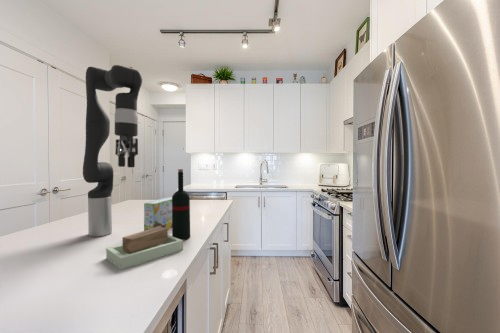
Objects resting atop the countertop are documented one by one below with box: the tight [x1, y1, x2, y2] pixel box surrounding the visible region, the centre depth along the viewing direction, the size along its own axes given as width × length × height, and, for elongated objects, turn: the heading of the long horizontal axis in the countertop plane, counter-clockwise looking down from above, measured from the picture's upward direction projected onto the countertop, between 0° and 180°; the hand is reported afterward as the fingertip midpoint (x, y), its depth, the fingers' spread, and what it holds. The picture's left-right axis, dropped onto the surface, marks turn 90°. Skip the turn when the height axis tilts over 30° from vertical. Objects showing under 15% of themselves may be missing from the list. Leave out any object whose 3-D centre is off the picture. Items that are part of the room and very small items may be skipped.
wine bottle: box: [171, 168, 191, 241], centre depth 105 cm, size 8×10×30 cm
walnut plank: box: [122, 227, 169, 254], centre depth 86 cm, size 5×15×5 cm, turn 152°
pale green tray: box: [105, 234, 184, 270], centre depth 86 cm, size 13×22×4 cm, turn 138°
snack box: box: [143, 196, 172, 231], centre depth 116 cm, size 21×6×15 cm, turn 168°
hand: (126, 167), depth 88 cm, fingers open, 8 cm apart
